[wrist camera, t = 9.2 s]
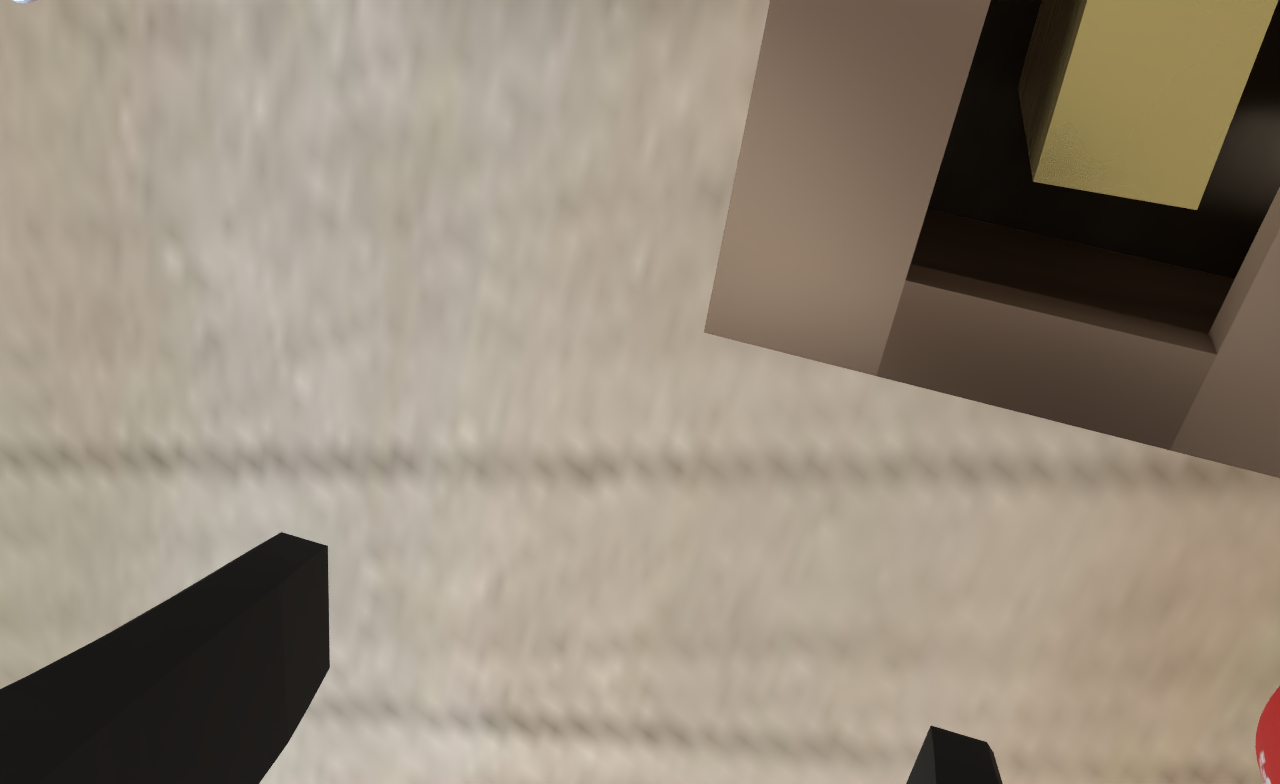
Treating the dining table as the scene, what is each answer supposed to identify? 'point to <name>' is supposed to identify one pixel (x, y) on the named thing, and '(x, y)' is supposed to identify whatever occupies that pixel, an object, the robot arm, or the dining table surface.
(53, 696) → the robot arm
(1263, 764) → the beverage can
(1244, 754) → the dining table surface
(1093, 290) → the box
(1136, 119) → the yellow rectangular block
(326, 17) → the dining table surface
